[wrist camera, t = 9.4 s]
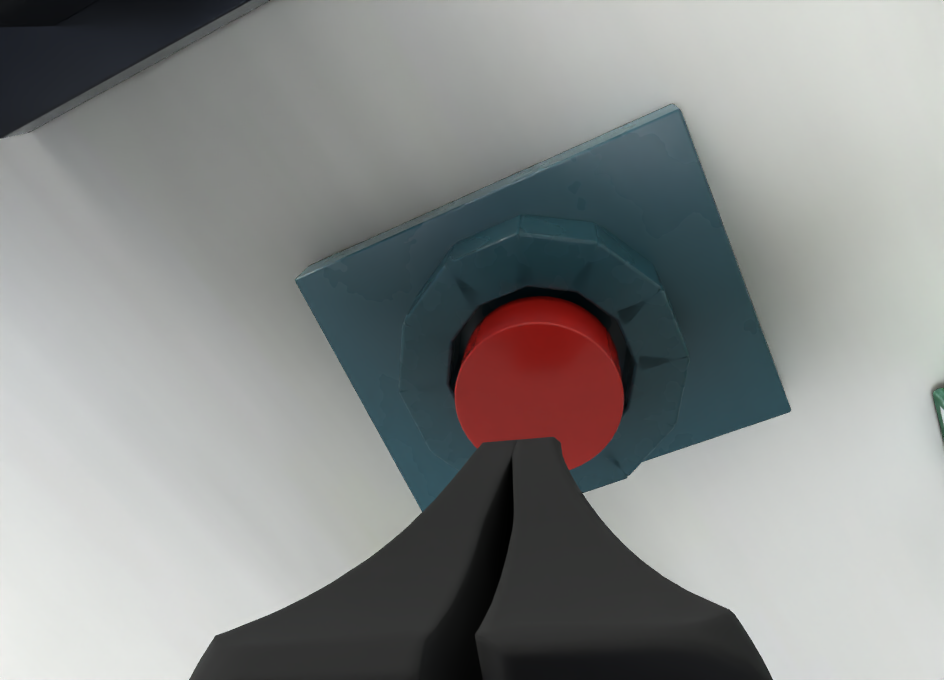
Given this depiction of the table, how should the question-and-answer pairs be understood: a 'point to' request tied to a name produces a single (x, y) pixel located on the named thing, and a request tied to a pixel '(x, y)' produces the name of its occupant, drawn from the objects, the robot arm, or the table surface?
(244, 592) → the table surface
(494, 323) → the button
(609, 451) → the button box
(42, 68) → the bracket
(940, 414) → the coffee box
